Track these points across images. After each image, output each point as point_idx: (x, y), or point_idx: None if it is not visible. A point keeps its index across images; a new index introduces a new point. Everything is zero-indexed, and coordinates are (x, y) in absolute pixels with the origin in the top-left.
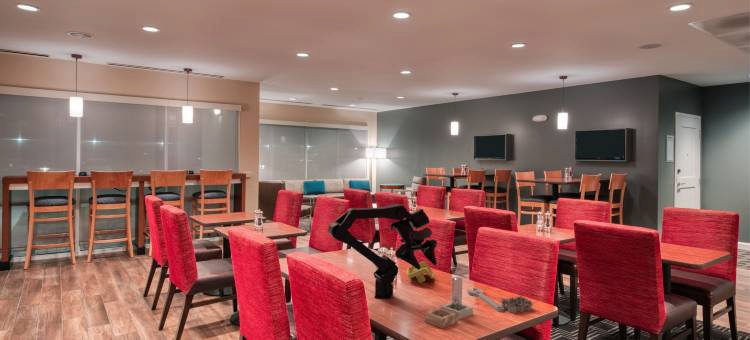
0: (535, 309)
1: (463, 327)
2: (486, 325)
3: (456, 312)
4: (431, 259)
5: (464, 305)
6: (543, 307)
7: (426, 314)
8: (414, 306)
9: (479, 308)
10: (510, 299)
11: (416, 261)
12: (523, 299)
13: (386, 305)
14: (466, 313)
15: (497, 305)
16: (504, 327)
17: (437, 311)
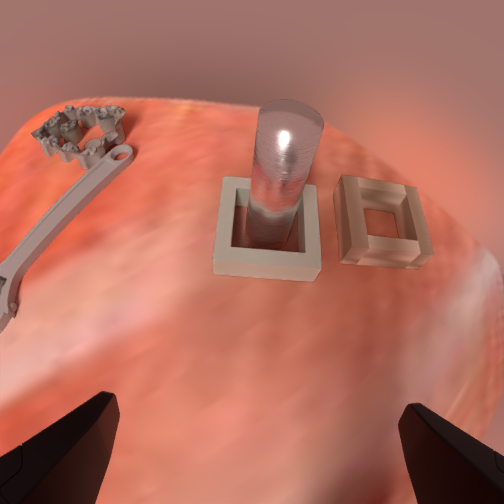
0: None
1: (346, 168)
2: None
3: (315, 197)
4: (85, 481)
5: (229, 205)
6: (45, 118)
7: (430, 248)
8: (334, 416)
9: (143, 208)
10: (59, 146)
11: (471, 442)
12: (40, 133)
13: (411, 489)
14: None
15: (95, 172)
16: (253, 108)
17: (381, 238)
